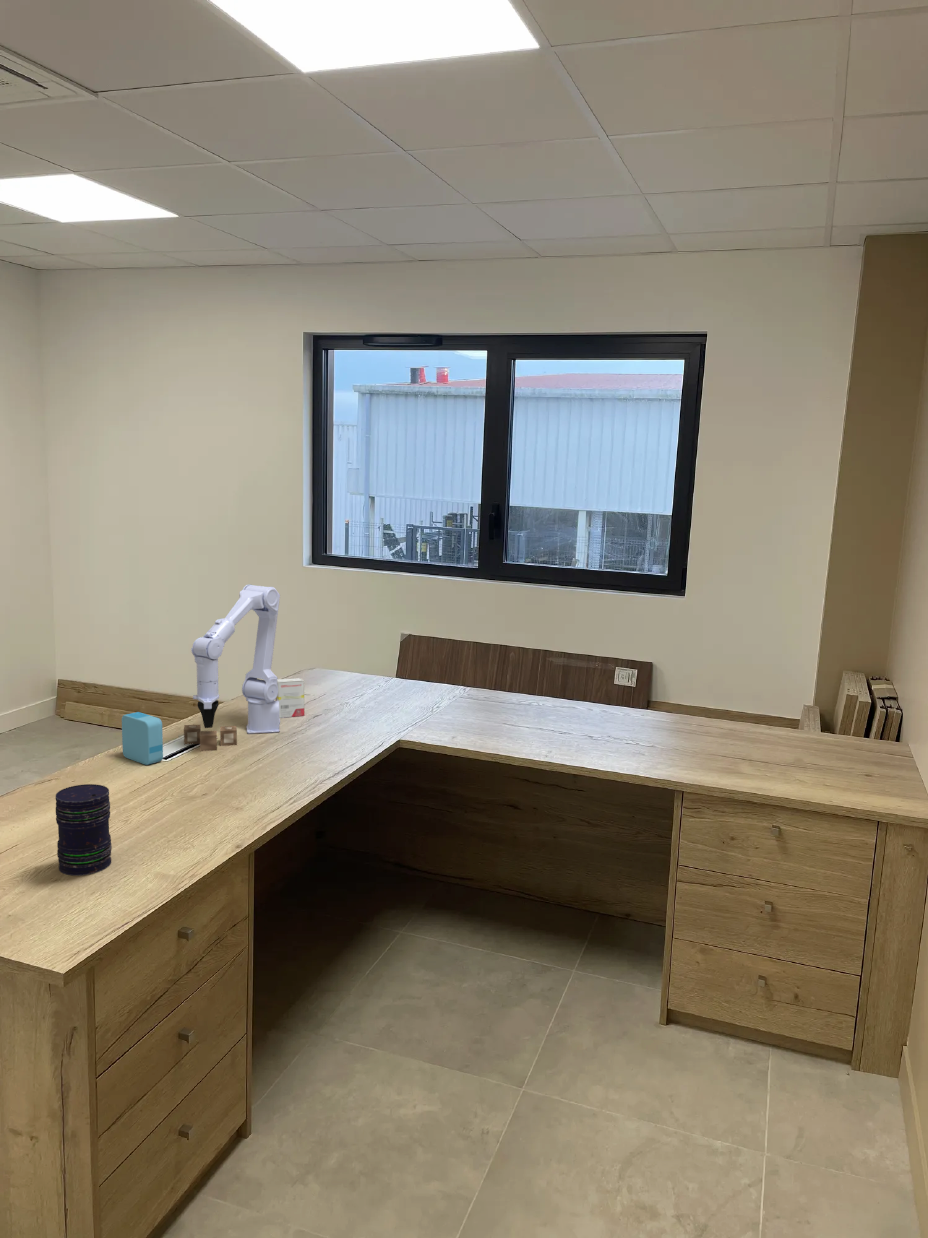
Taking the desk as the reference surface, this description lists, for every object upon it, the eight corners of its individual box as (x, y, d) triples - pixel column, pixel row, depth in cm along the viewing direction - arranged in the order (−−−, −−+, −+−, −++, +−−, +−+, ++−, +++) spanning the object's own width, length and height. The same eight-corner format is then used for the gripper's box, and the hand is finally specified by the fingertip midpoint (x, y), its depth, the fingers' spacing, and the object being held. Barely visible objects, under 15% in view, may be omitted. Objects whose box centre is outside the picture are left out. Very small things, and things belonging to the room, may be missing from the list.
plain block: (216, 745, 253) (216, 730, 252) (216, 750, 249) (216, 735, 248) (200, 746, 252) (200, 731, 251) (200, 751, 247) (199, 736, 247)
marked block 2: (236, 740, 258) (236, 725, 257) (236, 745, 254) (236, 729, 253) (220, 741, 257) (220, 726, 256) (220, 746, 252) (220, 730, 252)
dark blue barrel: (46, 870, 173) (42, 797, 170) (84, 850, 182) (81, 781, 179) (86, 879, 169) (83, 805, 167) (123, 859, 178) (120, 788, 176)
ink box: (301, 712, 290) (301, 677, 288) (304, 716, 286) (304, 680, 284) (274, 714, 287) (274, 678, 285) (278, 718, 282) (278, 682, 280)
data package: (163, 762, 237) (162, 719, 235) (148, 766, 234) (147, 722, 232) (137, 753, 244) (135, 710, 242) (122, 756, 241) (121, 714, 239)
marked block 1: (200, 739, 258) (200, 724, 257) (200, 744, 254) (200, 728, 253) (184, 740, 257) (184, 724, 256) (184, 745, 253) (183, 729, 252)
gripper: (193, 674, 253) (194, 720, 255) (191, 687, 239) (193, 735, 241) (218, 673, 255) (219, 719, 257) (219, 686, 241) (219, 734, 243)
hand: (208, 727), depth 249 cm, fingers closed
